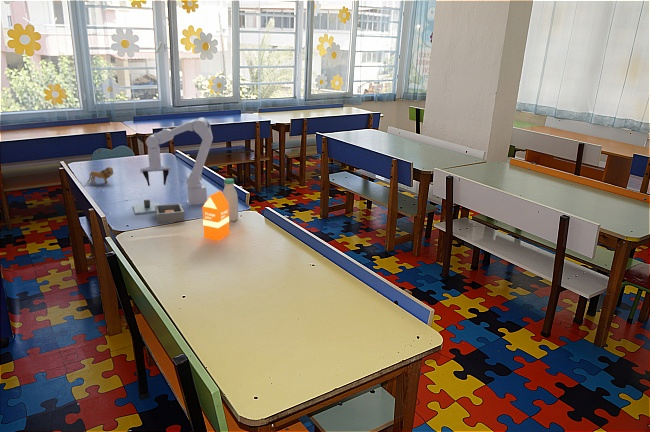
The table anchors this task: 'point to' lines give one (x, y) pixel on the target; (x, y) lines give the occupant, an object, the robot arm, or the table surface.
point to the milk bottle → (231, 199)
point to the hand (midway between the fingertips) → (156, 184)
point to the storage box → (169, 213)
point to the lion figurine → (101, 174)
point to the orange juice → (216, 217)
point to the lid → (145, 207)
